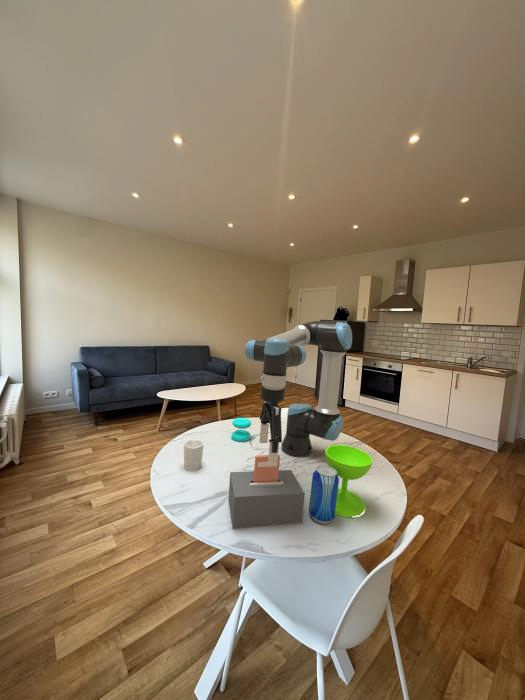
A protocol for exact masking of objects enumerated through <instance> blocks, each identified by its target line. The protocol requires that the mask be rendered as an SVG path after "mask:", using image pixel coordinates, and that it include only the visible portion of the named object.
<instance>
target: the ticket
mask: <svg viewBox="0 0 525 700" xmlns="http://www.w3.org/2000/svg"><path fill="white" fill-rule="evenodd" d="M268 456H269V454H267V455H266V454H264V455H263V454H261V455H260V454H259V455H258V454H257V455H255V457H254V466H253V467H254V469H253V471H254V481H253V483H262V482H278V475H279V470H280V461H281V460H280V459H281V456H280V454H278V460H277V462H268Z"/></svg>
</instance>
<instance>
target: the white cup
mask: <svg viewBox="0 0 525 700" xmlns="http://www.w3.org/2000/svg"><path fill="white" fill-rule="evenodd" d="M203 452H204V442H203V441H201V440H198V439H190V440H187V441H185V442H184V443H183V462H184V465H183V467H184V470H186V471H188V472H193V471H197V470H200V469H201V467H202V461H203V460H202V459H203V454H204V453H203Z"/></svg>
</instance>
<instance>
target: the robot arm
mask: <svg viewBox="0 0 525 700" xmlns="http://www.w3.org/2000/svg"><path fill="white" fill-rule="evenodd" d="M352 331H353V330H352V329H351V326H350V324H349V323H346V322H341V321H326V320H325V321H321V320H313V321H309V322H308V321H307V322H303V323H301V324H298V325H296V326H294V327H293V328H292V329H291V330H288V331H284V332H282V333H279V334H277V335H274V336H270V337H268V338H265V339H262V340H257V339H252V340H249V341H248V342H247V343H246V344H245V347H244V355H245V357H246V358H247V359H248V360H249V361H250V360H251V361H253V362H261V363H263V367H262V368H263V369H262V376H260V380H261V385H262V387H260V398H261V400H262V407H261V410H260V415H259V420H260V431H259V439H258V440H259V441H258V442H259V443H260V444H268V442H269V447H268V455H269V456H268V462H277V460H278V455H279V448H280V447H281V448H280V449H281V451H282V452H283V453H284V454H286V455H289V456H292V457H295V456H306V455H309V454H310V453H311V452H313V451H312V450H313V447H312V441H311V438H310V435H311V436H314V437H318V438H321V439H323V440H327V441H331V442H334V441H336V440H337V439H338V438H339V436H340V434H341V432H342V430H343V427H344V423H345V422H344V417H343V416H342V415H340V414H341V411H340V409H339V408H338V403H339V402H338V400H339V394H340V393H339V392H340V383H341V382H340V381H341V374H342V373H341V371H342V362H343V356H345V354H346V353H347V351H348V350H350V349H351V348H352V344H353V332H352ZM307 345H309V346H317V347H319V349H320V353H321V354H322V362H321V372H320V381H319V393H318V402H317V403H318V404H317V405H316V406H315V407H314V408H313V405H311V404H309V403H292V404H290V405H289V406H288V410H287V413H286V415H287V417H286V418H287V419H286V431H285V434H284V437H283V435H282V433H283V432H282V408H281V407H280V406H279V402H284V400H285V394H286V393H285V392H286V390H285V388H286V386H287V369H288V368H292V367H298V366H301V365H302V364H304V362H305V361H306V359H307V352H306V349H305V348H304V347H303V346H307ZM269 431H270V439H269ZM268 439H269V440H268ZM280 443H281V446H280ZM311 454H312V453H311ZM311 454H310V455H311ZM310 455H309V456H310ZM306 457H307V456H306Z"/></svg>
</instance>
